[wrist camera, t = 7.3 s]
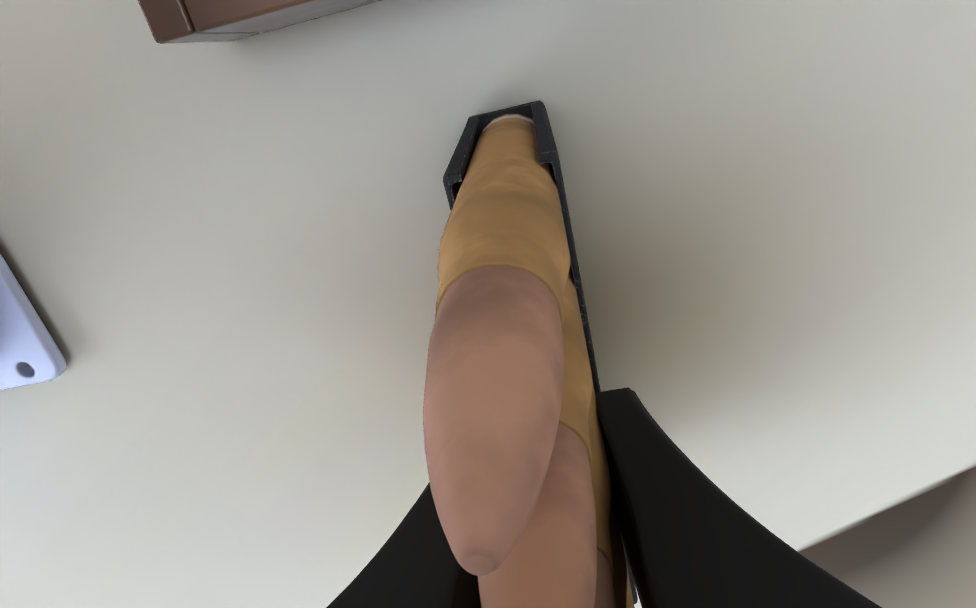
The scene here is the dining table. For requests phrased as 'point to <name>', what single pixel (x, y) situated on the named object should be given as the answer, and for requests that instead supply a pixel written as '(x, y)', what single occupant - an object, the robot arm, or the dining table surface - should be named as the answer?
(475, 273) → the ammunition clip
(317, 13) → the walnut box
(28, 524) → the dining table surface
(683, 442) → the dining table surface
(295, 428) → the dining table surface
